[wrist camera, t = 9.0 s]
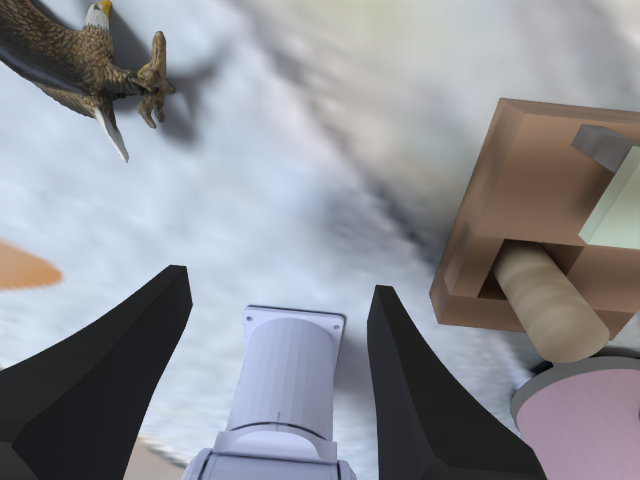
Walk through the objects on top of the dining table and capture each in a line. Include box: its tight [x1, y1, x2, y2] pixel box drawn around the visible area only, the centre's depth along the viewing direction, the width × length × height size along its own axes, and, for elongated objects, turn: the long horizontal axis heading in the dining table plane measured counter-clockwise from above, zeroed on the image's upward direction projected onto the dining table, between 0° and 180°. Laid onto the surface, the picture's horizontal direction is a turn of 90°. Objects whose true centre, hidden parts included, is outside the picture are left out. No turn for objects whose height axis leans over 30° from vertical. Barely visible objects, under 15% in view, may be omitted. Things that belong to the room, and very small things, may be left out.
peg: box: [491, 239, 610, 363], centre depth 20 cm, size 3×3×8 cm
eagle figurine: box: [0, 0, 175, 163], centre depth 16 cm, size 8×7×9 cm
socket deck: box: [429, 98, 640, 341], centre depth 19 cm, size 14×12×7 cm
